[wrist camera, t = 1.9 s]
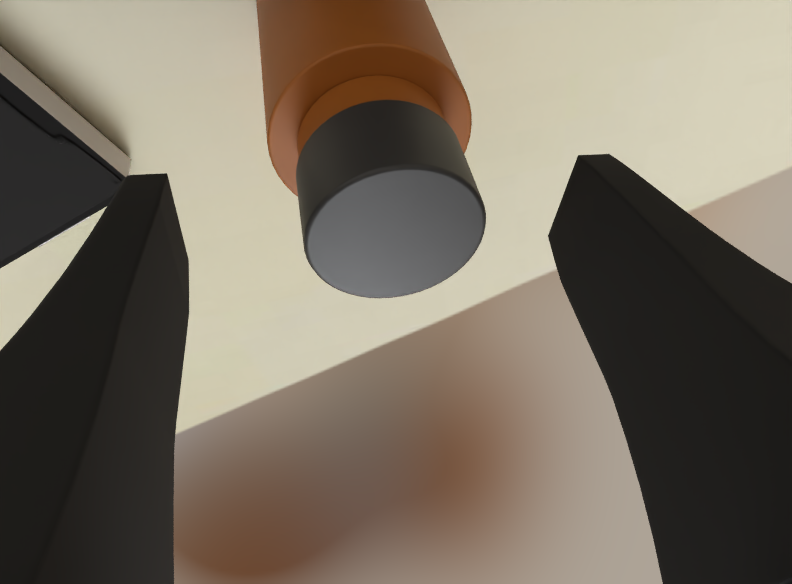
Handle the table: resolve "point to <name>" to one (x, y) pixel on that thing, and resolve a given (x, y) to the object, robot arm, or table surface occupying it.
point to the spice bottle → (370, 141)
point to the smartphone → (48, 163)
